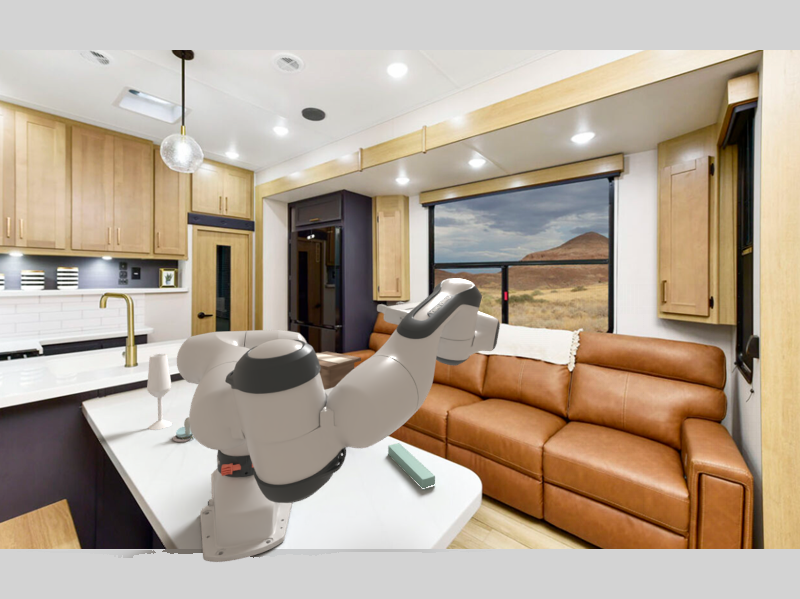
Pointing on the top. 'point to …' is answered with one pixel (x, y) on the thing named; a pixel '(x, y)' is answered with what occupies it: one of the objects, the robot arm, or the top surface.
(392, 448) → the bar
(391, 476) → the top surface
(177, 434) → the pacifier
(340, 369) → the stand
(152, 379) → the champagne flute
